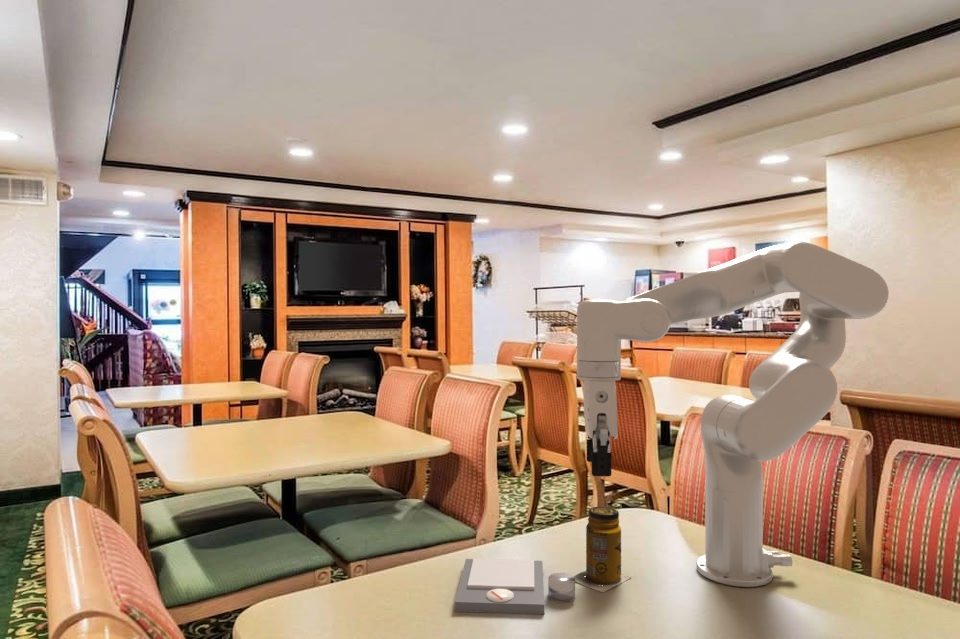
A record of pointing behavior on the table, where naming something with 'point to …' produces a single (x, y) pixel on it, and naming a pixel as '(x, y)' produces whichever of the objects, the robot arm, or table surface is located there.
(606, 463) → the robot arm
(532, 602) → the scale
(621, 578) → the condiment
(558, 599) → the knob
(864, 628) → the table surface
